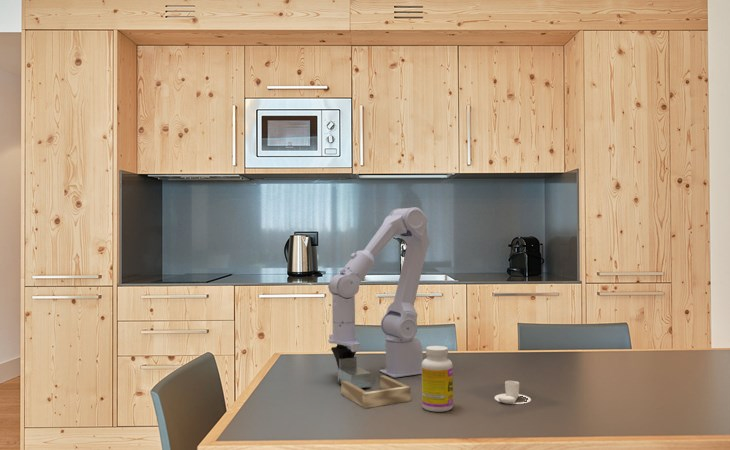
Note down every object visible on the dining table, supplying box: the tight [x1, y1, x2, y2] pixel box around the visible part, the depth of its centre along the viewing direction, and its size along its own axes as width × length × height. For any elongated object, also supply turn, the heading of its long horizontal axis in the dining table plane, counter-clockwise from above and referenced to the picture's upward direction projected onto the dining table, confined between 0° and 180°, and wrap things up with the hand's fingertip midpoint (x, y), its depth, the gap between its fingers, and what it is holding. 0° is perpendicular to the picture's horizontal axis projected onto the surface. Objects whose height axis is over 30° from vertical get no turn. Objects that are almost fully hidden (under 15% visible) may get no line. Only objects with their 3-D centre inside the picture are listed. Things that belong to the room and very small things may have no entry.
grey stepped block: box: [337, 356, 372, 389], centre depth 143 cm, size 8×6×6 cm
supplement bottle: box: [421, 345, 454, 413], centre depth 125 cm, size 7×7×13 cm
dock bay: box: [340, 374, 412, 409], centre depth 133 cm, size 11×12×3 cm
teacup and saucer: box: [494, 380, 532, 405], centre depth 131 cm, size 9×8×4 cm
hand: (344, 375), depth 148 cm, fingers closed
